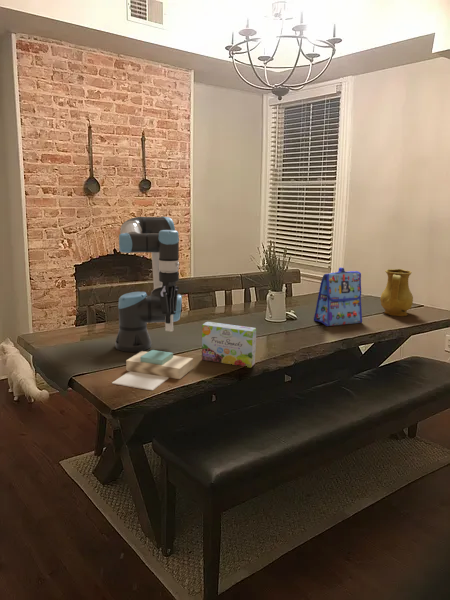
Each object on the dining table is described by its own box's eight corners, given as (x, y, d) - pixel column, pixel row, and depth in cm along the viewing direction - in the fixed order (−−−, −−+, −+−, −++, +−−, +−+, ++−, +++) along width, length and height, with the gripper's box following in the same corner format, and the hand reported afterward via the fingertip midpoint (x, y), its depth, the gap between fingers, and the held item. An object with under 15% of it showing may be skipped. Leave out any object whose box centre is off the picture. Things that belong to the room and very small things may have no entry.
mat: (111, 383, 177) (111, 382, 177) (129, 372, 188) (129, 371, 188) (152, 390, 172) (152, 389, 172) (168, 378, 183) (168, 377, 183)
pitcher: (419, 314, 282) (421, 269, 276) (397, 320, 272) (399, 274, 266) (393, 308, 296) (394, 266, 290) (372, 314, 286) (373, 270, 280)
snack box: (200, 360, 202) (201, 324, 199) (206, 356, 207) (206, 320, 204) (251, 368, 195) (252, 330, 191) (255, 363, 200) (257, 326, 197)
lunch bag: (328, 327, 253) (331, 270, 247) (312, 320, 266) (316, 266, 259) (362, 323, 262) (367, 268, 256) (346, 316, 274) (350, 264, 268)
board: (126, 370, 190) (126, 360, 189) (142, 360, 201) (141, 350, 200) (179, 379, 182) (179, 368, 181) (193, 368, 193) (193, 358, 192)
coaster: (140, 361, 188) (140, 356, 187) (151, 354, 196) (151, 349, 196) (162, 364, 185) (162, 360, 184) (173, 357, 193) (173, 352, 193)
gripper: (170, 274, 186) (170, 336, 191) (185, 269, 198) (185, 327, 203) (152, 272, 188) (152, 333, 193) (167, 268, 200) (168, 325, 205)
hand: (169, 330), depth 198 cm, fingers closed
